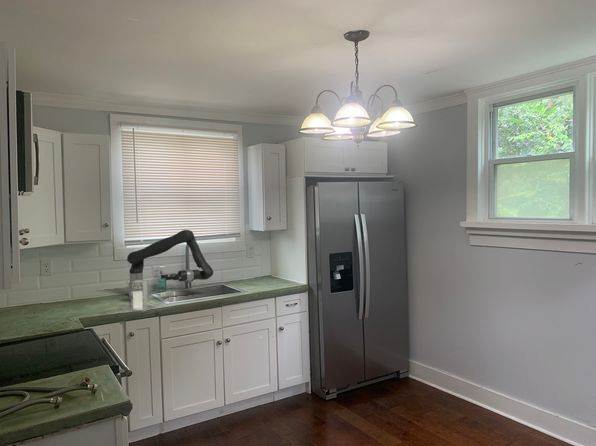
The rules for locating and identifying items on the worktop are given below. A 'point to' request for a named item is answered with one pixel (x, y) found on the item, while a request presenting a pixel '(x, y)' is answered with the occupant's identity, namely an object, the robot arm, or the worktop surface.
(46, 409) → the worktop surface
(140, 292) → the breaker module
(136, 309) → the mounting plate
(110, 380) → the worktop surface
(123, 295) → the worktop surface
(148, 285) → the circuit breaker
